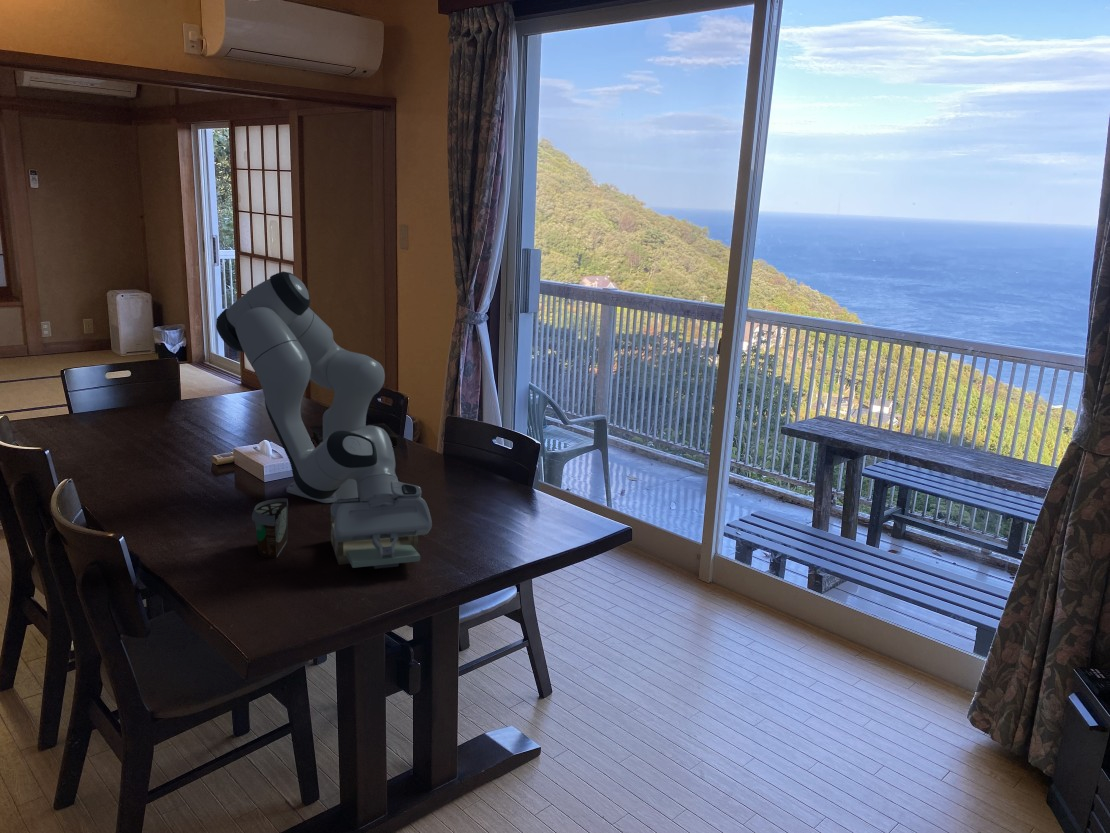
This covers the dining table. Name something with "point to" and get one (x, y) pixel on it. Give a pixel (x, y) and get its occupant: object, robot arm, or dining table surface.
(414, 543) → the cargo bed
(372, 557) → the panel
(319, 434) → the diary
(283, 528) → the food container
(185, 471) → the dining table surface
